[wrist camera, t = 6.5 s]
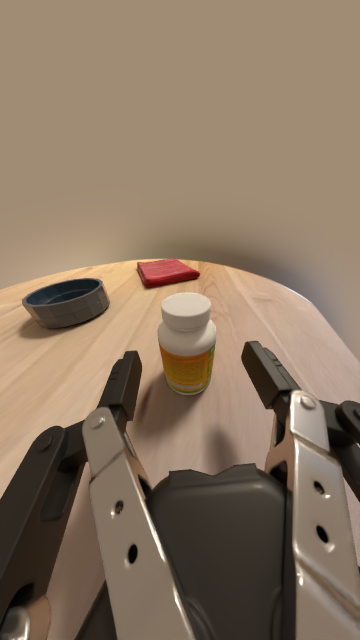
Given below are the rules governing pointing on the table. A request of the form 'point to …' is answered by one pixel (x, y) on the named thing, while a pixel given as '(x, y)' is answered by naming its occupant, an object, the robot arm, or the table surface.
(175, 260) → the dish towel
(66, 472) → the robot arm
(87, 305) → the fruit bowl
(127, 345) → the table surface
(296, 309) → the table surface
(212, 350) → the supplement bottle
